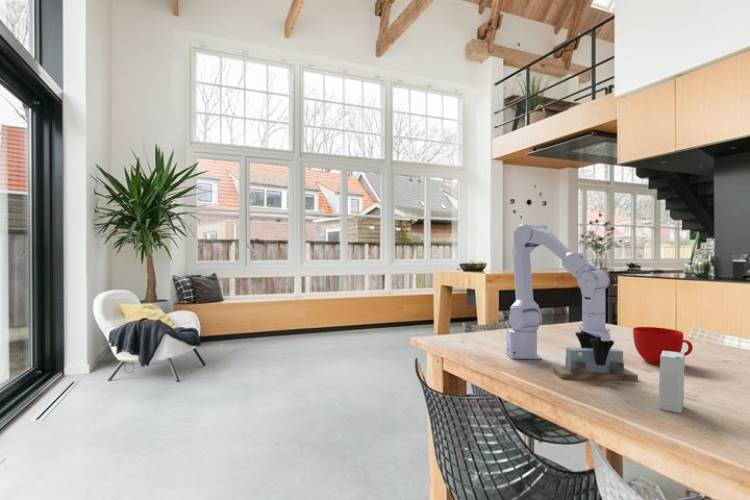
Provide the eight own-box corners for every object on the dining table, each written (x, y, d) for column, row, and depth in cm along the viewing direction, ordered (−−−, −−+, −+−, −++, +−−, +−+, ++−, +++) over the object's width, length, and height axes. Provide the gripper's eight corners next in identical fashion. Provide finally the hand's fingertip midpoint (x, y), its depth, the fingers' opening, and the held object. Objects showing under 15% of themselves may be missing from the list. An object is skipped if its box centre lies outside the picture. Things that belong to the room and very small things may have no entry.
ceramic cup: (674, 374, 114) (674, 338, 114) (623, 358, 130) (623, 327, 130) (708, 370, 117) (708, 336, 117) (654, 355, 133) (654, 325, 133)
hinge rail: (561, 378, 109) (561, 362, 109) (553, 371, 116) (552, 356, 116) (637, 380, 108) (637, 364, 108) (625, 373, 114) (624, 357, 114)
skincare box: (660, 401, 93) (660, 349, 93) (685, 406, 90) (684, 352, 90) (658, 409, 88) (657, 354, 88) (683, 414, 86) (683, 358, 86)
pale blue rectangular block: (571, 372, 110) (571, 351, 110) (566, 368, 114) (566, 347, 114) (624, 373, 109) (624, 351, 109) (617, 369, 113) (617, 348, 113)
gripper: (622, 317, 104) (622, 369, 104) (596, 309, 119) (596, 354, 119) (594, 316, 105) (594, 368, 105) (571, 308, 119) (572, 354, 119)
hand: (593, 361), depth 112 cm, fingers open, 7 cm apart
